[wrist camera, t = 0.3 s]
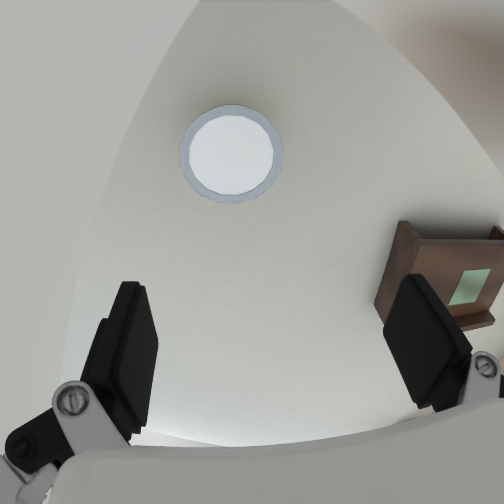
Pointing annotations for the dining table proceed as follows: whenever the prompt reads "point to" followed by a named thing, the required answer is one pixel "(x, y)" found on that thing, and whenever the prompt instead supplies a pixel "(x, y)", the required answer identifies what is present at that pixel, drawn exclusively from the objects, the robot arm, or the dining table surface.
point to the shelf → (447, 273)
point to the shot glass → (231, 154)
